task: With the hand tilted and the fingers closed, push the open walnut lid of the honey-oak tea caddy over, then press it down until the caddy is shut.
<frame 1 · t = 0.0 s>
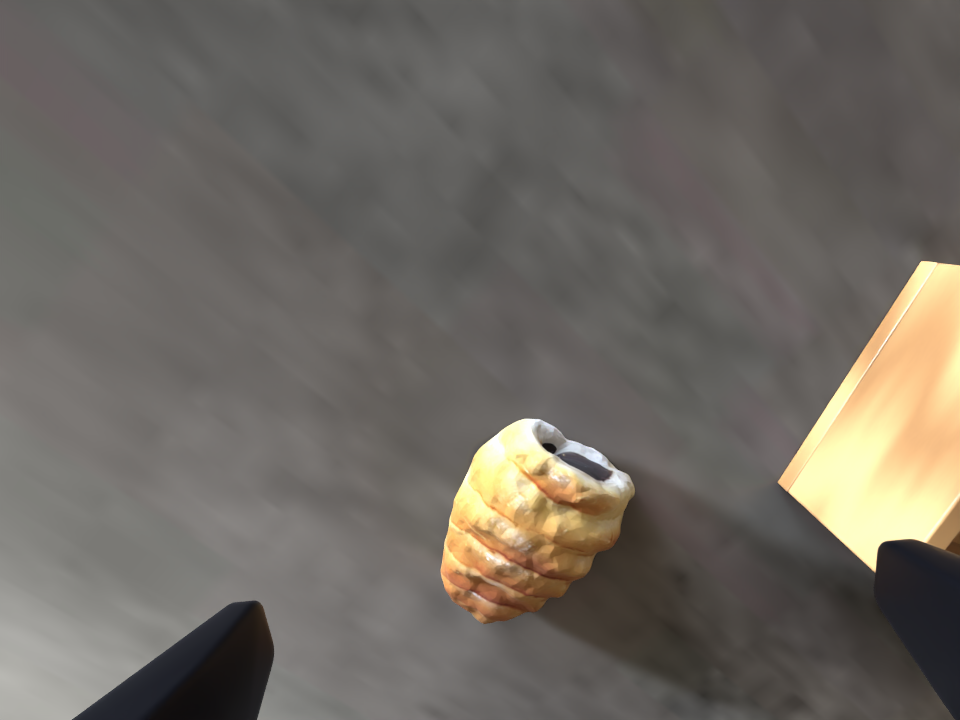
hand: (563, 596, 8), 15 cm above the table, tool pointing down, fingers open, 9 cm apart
pastry: (530, 501, 24), on the table
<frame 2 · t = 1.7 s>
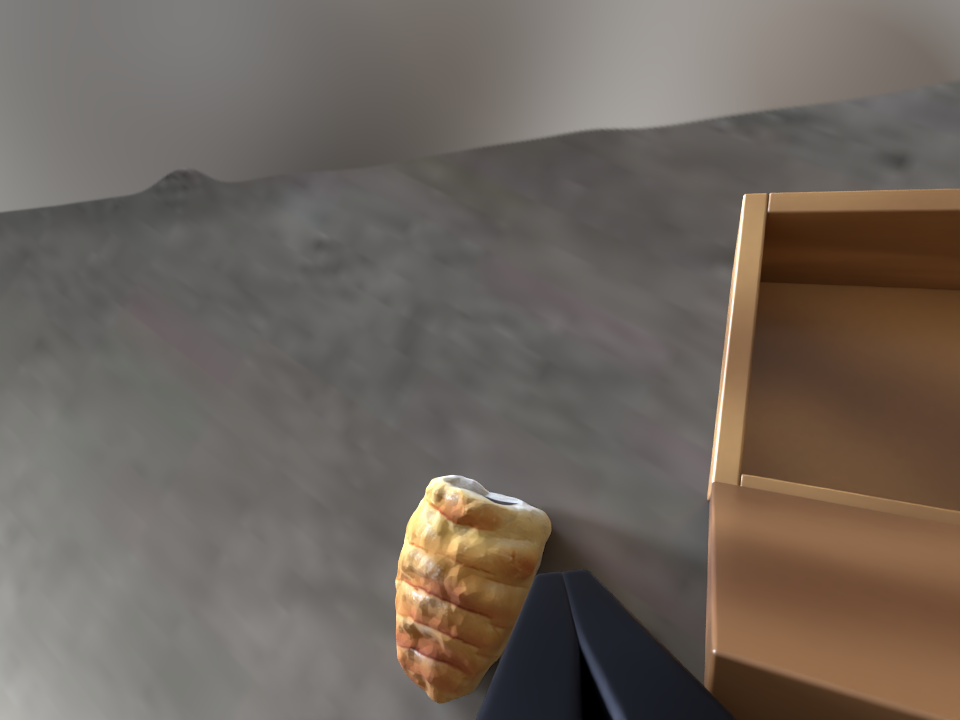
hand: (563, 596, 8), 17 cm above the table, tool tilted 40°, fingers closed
pastry: (480, 569, 25), on the table
caddy: (907, 402, 21), on the table
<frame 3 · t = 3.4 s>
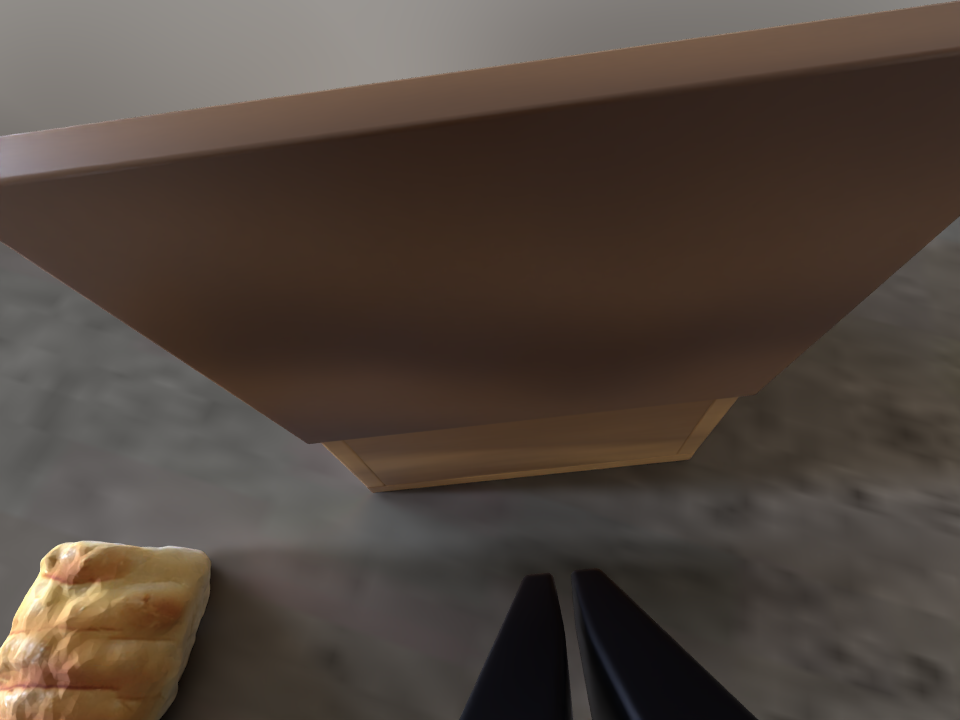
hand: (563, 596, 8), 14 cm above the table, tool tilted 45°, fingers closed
pastry: (131, 653, 21), on the table
lid: (522, 322, 11), point 13 cm above the table, hinge at 95.2°
caddy: (515, 367, 25), on the table
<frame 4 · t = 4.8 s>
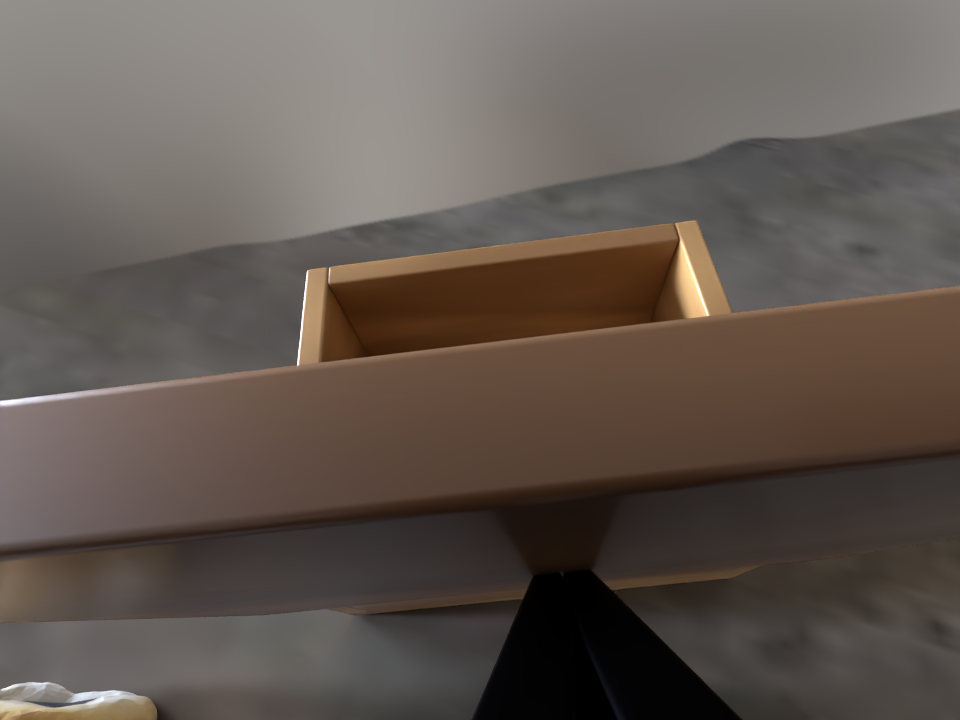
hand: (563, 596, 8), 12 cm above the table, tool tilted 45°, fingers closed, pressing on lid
lid: (549, 542, 7), point 13 cm above the table, hinge at 93.9°, touching gripper
caddy: (522, 455, 21), on the table
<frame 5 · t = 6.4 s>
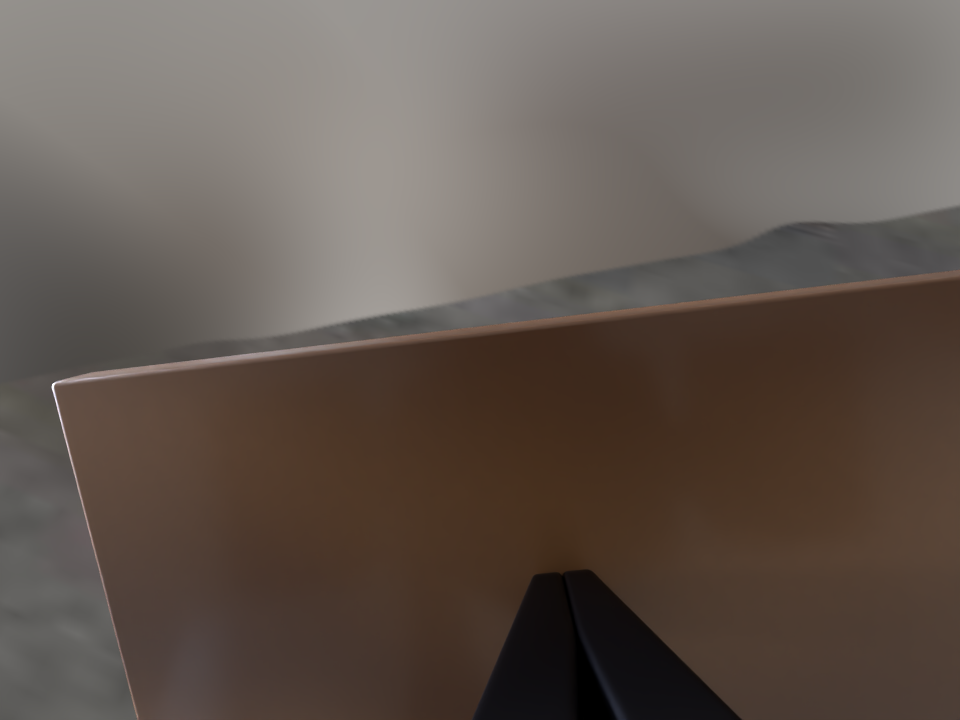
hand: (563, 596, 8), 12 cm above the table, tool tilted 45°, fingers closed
lid: (565, 671, 8), point 11 cm above the table, hinge at 38.7°
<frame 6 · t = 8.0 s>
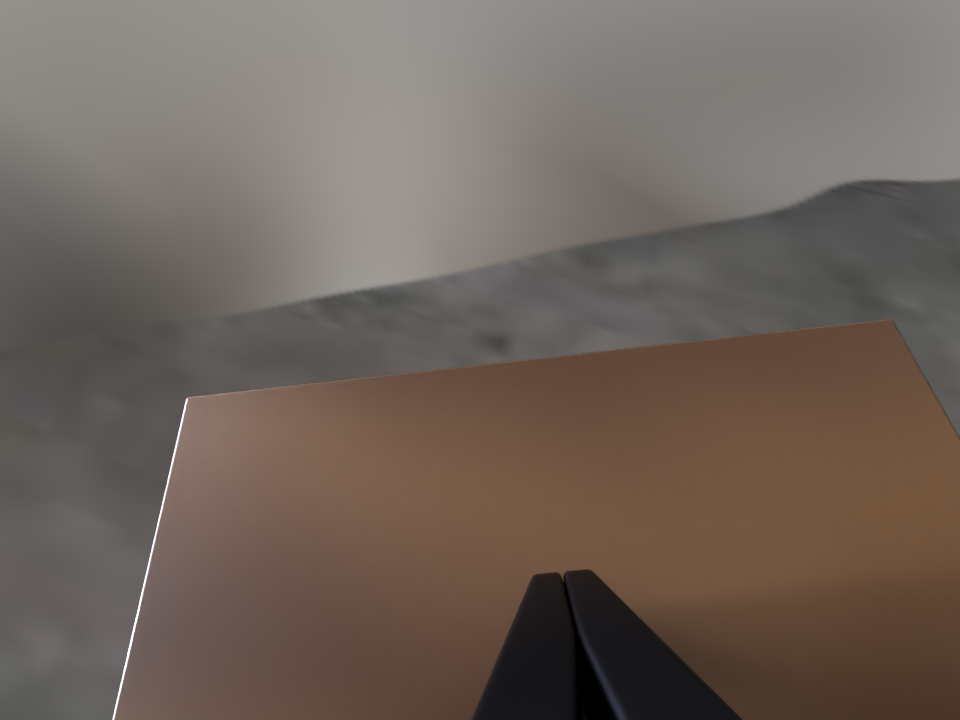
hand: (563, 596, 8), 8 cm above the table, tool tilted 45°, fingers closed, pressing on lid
lid: (575, 704, 8), point 7 cm above the table, hinge at -0.3°, touching caddy, gripper
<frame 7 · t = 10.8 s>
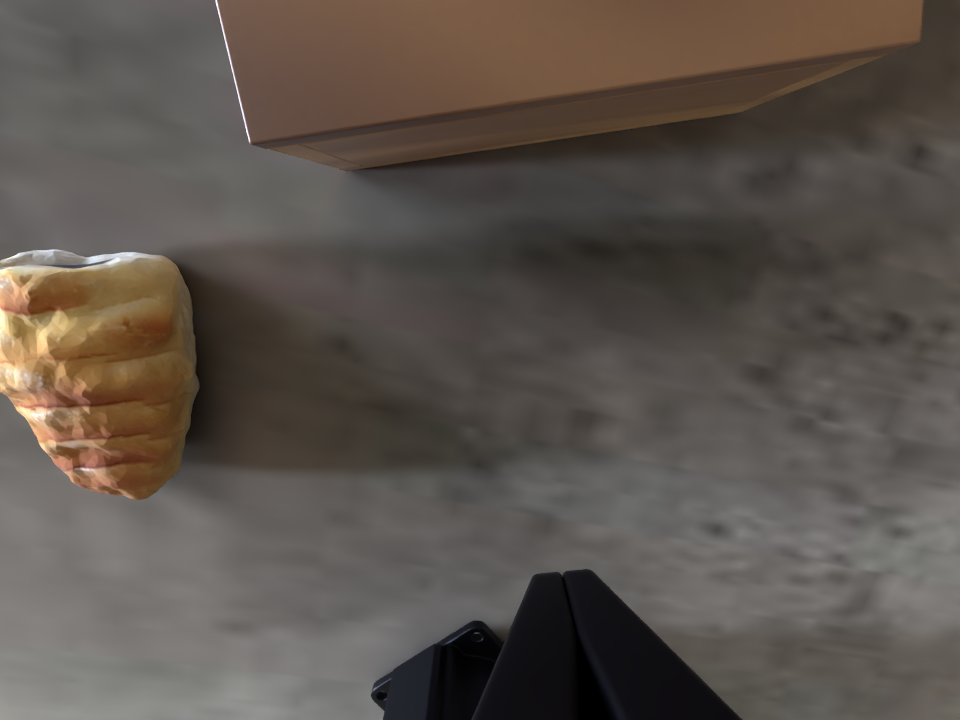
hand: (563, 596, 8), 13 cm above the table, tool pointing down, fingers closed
pastry: (133, 350, 20), on the table
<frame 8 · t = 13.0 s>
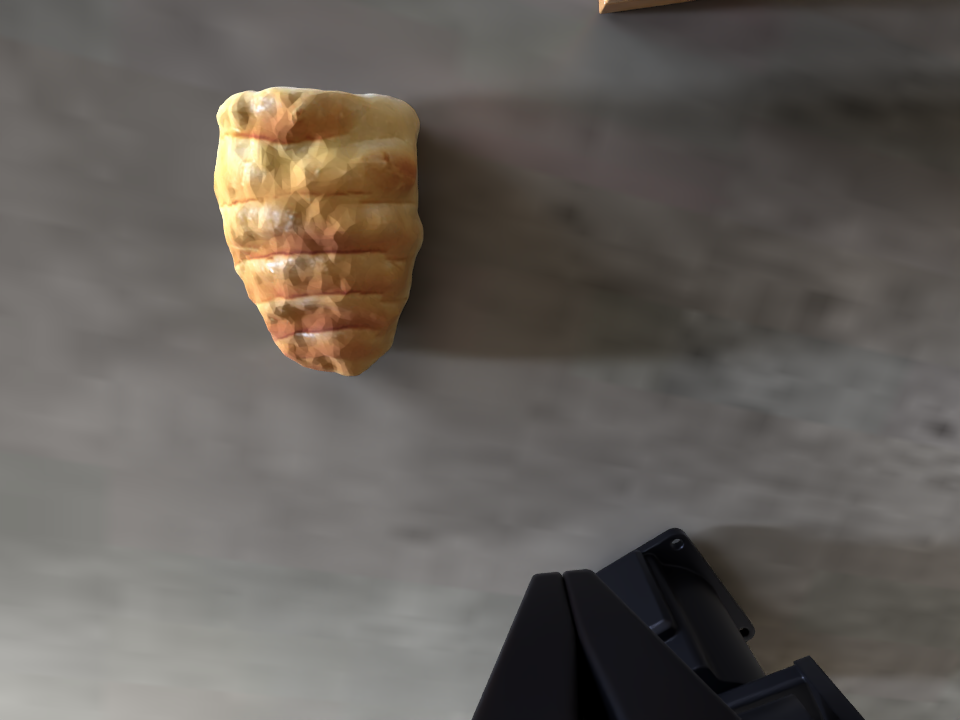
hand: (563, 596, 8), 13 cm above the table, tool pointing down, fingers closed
pastry: (342, 219, 19), on the table
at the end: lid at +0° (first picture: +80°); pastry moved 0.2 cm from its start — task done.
